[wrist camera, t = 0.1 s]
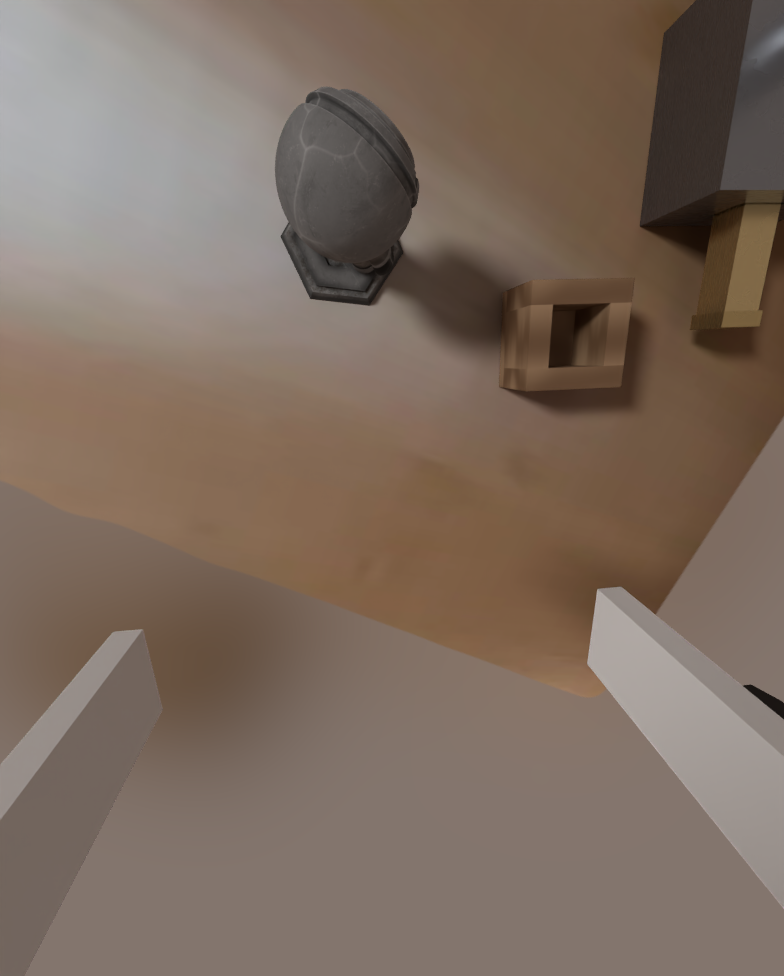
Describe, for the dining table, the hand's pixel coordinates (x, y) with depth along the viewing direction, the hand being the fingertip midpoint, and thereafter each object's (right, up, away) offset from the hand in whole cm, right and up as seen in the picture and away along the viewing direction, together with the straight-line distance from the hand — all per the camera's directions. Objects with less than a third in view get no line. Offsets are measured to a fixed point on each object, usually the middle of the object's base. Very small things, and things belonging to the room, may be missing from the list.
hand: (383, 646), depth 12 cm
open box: (+14, +18, +25) cm, 34 cm away
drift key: (+28, +23, +23) cm, 43 cm away
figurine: (-4, +25, +22) cm, 33 cm away
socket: (+27, +33, +22) cm, 49 cm away
